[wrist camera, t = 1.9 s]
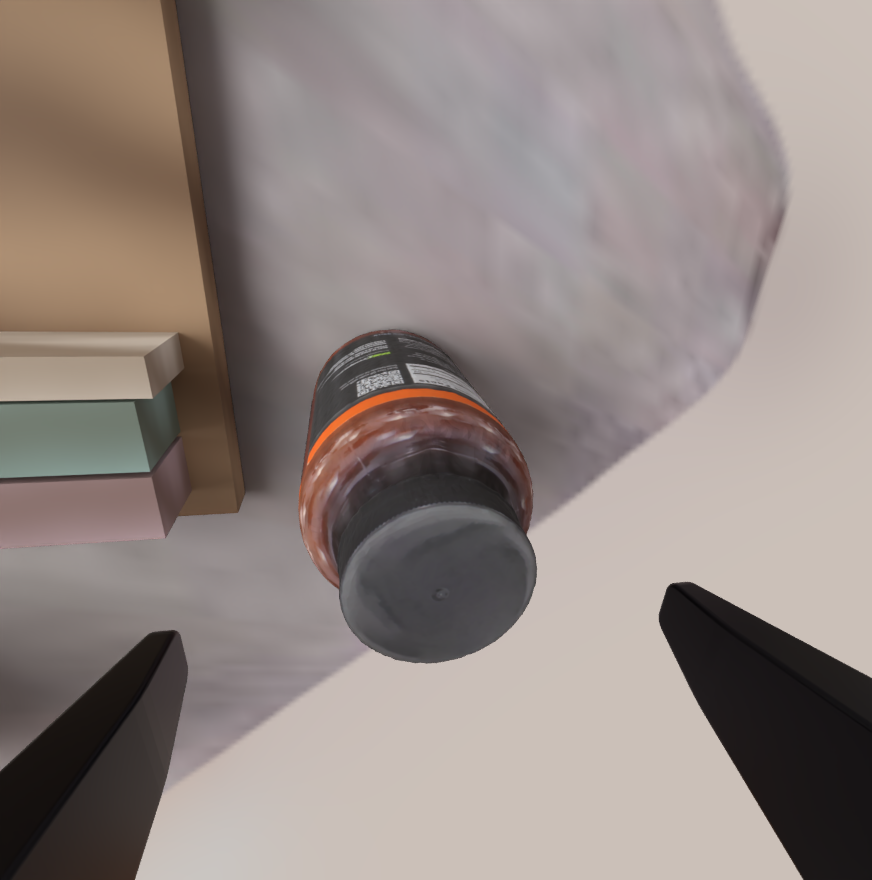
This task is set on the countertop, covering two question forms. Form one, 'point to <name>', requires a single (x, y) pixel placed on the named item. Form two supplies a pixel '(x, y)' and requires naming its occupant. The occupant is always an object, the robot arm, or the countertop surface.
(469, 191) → the countertop surface
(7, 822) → the robot arm
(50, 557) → the countertop surface
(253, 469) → the countertop surface
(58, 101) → the book rack
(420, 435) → the supplement bottle
